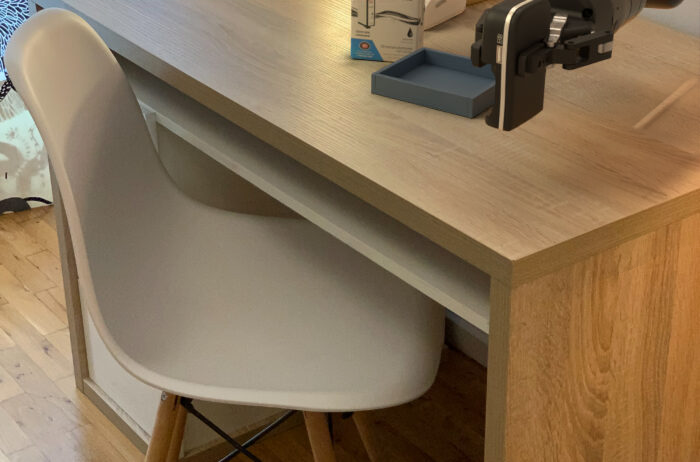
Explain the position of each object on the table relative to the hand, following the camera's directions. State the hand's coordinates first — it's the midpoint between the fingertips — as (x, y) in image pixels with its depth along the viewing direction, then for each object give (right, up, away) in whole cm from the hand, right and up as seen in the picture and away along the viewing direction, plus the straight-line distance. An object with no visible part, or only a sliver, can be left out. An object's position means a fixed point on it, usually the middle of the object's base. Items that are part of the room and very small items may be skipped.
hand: (499, 61), depth 95 cm
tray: (-2, +1, +28) cm, 28 cm away
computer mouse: (-3, +14, +52) cm, 54 cm away
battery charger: (+2, -5, +5) cm, 7 cm away
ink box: (-9, +7, +38) cm, 40 cm away
